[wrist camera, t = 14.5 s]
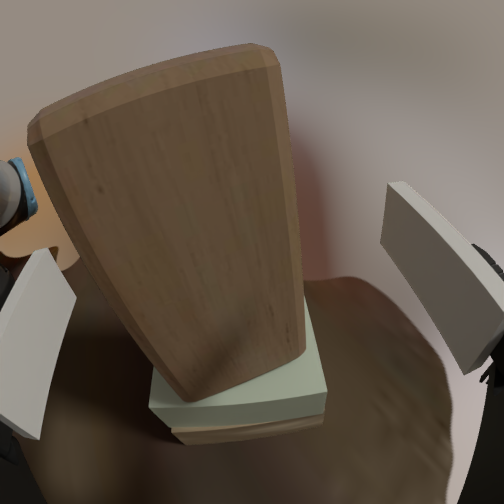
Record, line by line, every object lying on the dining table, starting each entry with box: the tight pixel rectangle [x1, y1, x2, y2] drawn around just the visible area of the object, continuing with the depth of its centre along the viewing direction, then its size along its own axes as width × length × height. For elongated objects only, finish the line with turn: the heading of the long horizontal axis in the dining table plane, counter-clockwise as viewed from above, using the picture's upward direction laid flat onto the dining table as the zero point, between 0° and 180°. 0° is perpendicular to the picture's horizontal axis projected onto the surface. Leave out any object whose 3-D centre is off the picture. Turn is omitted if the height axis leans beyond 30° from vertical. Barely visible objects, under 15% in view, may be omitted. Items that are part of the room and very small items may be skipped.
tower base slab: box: [171, 409, 325, 445], centre depth 29 cm, size 13×13×4 cm
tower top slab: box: [149, 297, 327, 427], centre depth 26 cm, size 13×13×4 cm
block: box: [27, 43, 306, 402], centre depth 18 cm, size 10×10×20 cm
